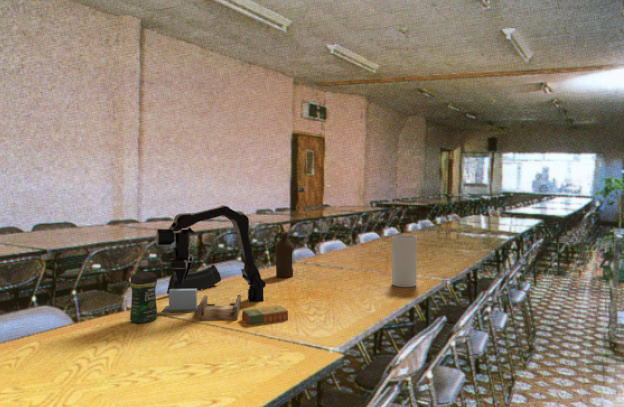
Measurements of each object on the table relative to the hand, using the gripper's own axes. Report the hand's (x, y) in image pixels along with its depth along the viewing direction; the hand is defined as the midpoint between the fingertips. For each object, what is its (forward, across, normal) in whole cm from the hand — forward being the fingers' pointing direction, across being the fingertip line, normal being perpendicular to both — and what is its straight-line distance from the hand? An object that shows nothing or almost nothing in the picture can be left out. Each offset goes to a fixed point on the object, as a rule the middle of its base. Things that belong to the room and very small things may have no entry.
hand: (182, 281), depth 196 cm
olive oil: (+12, -64, +44) cm, 78 cm away
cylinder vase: (+11, -39, +105) cm, 113 cm away
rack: (+12, +6, +16) cm, 21 cm away
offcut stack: (+12, +11, +16) cm, 23 cm away
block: (+12, 0, 0) cm, 12 cm away
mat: (+12, 0, 0) cm, 12 cm away
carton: (+12, +16, +35) cm, 40 cm away
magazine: (+12, -33, 0) cm, 36 cm away
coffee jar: (+12, +14, -12) cm, 22 cm away
